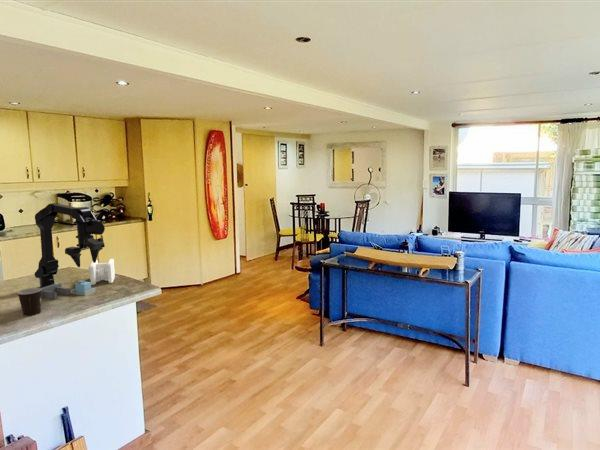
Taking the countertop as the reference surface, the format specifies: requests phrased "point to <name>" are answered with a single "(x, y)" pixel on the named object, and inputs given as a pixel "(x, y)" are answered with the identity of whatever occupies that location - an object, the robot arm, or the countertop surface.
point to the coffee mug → (30, 301)
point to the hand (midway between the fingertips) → (86, 264)
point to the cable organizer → (102, 271)
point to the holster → (84, 291)
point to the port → (54, 291)
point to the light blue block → (82, 286)
